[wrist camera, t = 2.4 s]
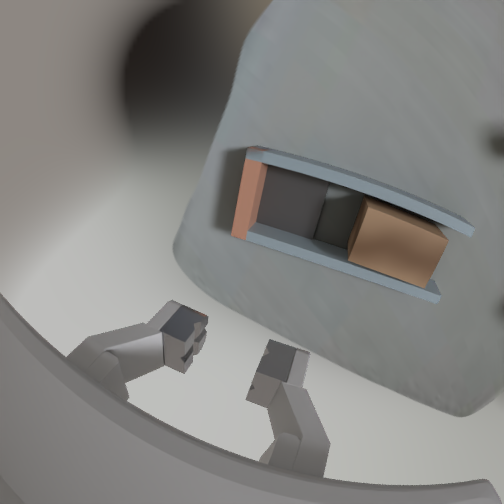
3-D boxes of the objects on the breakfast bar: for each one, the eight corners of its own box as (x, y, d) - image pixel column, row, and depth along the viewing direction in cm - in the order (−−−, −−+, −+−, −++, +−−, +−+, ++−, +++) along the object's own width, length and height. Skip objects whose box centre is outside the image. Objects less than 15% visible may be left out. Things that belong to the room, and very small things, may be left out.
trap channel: (257, 145, 25) (247, 147, 23) (463, 217, 21) (475, 227, 18) (241, 225, 29) (231, 235, 27) (430, 288, 25) (436, 304, 22)
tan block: (364, 194, 24) (368, 206, 20) (434, 223, 23) (448, 240, 19) (347, 240, 26) (347, 260, 23) (414, 266, 25) (424, 288, 21)
